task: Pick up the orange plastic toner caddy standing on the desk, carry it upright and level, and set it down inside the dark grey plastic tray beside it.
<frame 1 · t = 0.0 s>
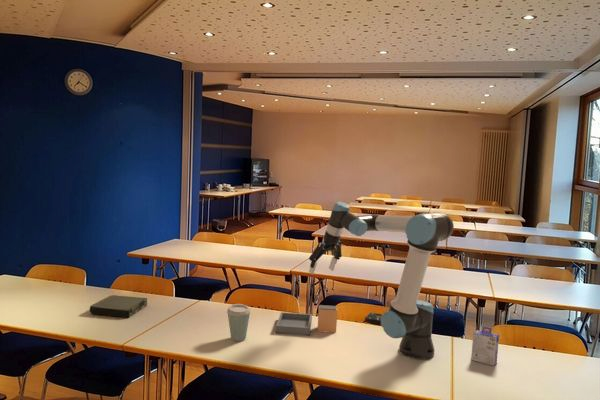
hand: (321, 271, 238), 28 cm above the table, tool tilted 20°, fingers open, 13 cm apart
disk drive: (381, 322, 252), on the table
toner caddy: (326, 329, 236), on the table
disposable coffee cup: (237, 339, 219), on the table
network switch: (119, 311, 251), on the table
tray: (294, 326, 238), on the table
ink cartridge box: (483, 361, 208), on the table
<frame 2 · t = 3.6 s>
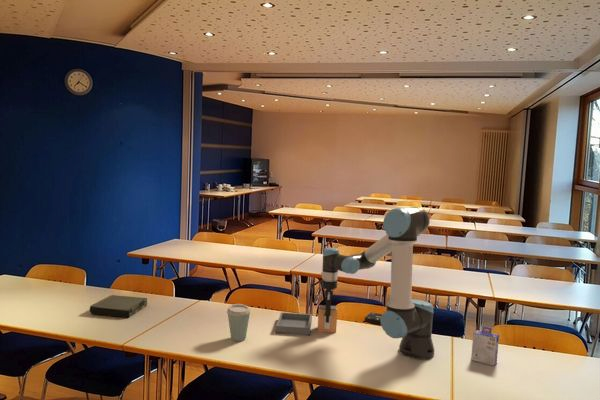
hand: (327, 325, 236), 2 cm above the table, tool pointing down, fingers closed on toner caddy, 6 cm apart
toner caddy: (326, 329, 236), on the table, touching gripper
everything else where it was.
when the fingers open (4 cm above the table, at t = 12.2 s): toner caddy drops 2 cm, resting on tray.
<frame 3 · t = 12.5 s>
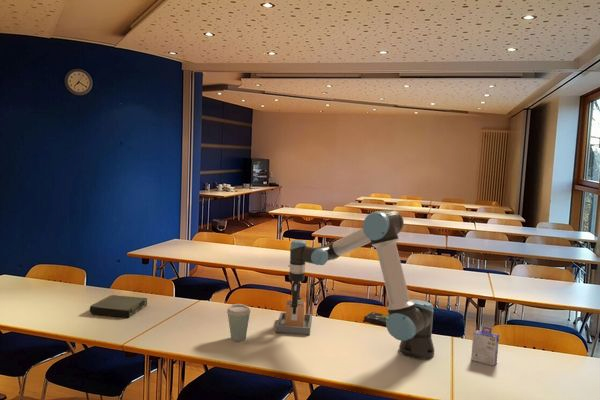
hand: (295, 316, 238), 5 cm above the table, tool pointing down, fingers open, 10 cm apart
toner caddy: (294, 325, 238), point 1 cm above the table, touching tray
everything else where it was.
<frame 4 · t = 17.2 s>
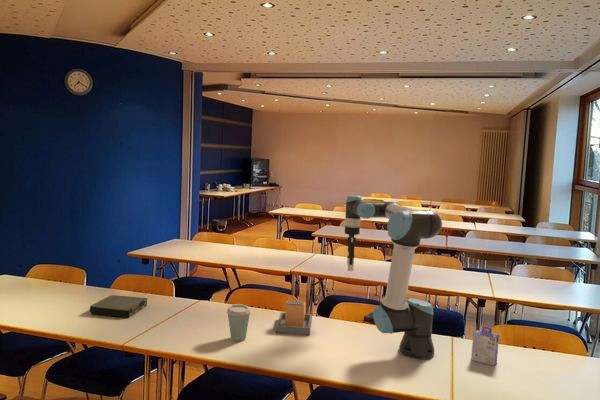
hand: (350, 267, 245), 29 cm above the table, tool pointing down, fingers open, 13 cm apart
nothing on the table moved.
at the end: toner caddy inside the target area on the tray (0.0 cm from its centre), point 0.8 cm above the tray's base; toner caddy tilted 0°; the gripper is holding nothing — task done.
